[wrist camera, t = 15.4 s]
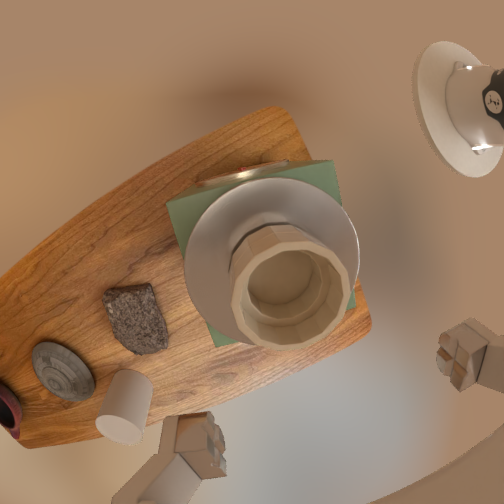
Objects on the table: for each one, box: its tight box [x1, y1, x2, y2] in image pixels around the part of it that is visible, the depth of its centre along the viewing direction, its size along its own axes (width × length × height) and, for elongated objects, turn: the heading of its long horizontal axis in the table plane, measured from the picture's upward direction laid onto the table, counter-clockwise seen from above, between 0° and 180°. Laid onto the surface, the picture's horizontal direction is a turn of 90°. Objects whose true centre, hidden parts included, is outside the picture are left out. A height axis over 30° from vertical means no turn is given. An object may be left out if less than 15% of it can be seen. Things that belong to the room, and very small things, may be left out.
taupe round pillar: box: [96, 369, 153, 445], centre depth 42 cm, size 8×8×12 cm
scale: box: [166, 159, 360, 347], centre depth 30 cm, size 12×13×23 cm
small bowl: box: [229, 225, 350, 351], centre depth 17 cm, size 6×6×4 cm
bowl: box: [0, 383, 22, 439], centre depth 44 cm, size 16×13×8 cm
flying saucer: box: [32, 342, 95, 401], centre depth 43 cm, size 15×15×6 cm
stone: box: [102, 283, 168, 355], centre depth 42 cm, size 12×9×4 cm
